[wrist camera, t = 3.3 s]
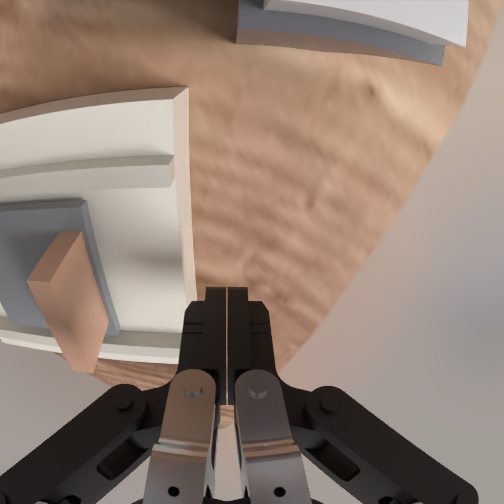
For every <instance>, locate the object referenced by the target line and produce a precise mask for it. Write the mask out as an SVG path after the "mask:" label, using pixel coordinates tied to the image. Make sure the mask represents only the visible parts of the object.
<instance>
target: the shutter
mask: <svg viewBox="0 0 504 504" xmlns="http://www.w3.org/2000/svg"><path fill="white" fill-rule="evenodd" d="M0 303H1V305H2V307H3V308H4V310H5V312H6V314H7V316H8V318H9V319H10V321H11V323H14V324H21V325H27V326H34V327H42V328H49V329H50V331H51V333H52V334H53V336H54V338H55V340H56V342H57V344H58V345H59V347H60V349H61V351H62V353H63V354H64V356H65V358H66V360H67V361H68V363H69V364H70V366H71V368H72V369H73V370H74V371H80V372H87V373H93V372H94V369H95V365H96V362H97V359H98V355H99V352H100V349H101V345H102V342H103V339H104V336H105V334H106V335H118V334H119V330H120V327H121V326H120V323H119V320H118V317H117V314H116V311H115V308H114V305H113V302H112V298H111V295H110V292H109V288H108V285H107V282H106V278H105V275H104V271H103V267H102V264H101V260H100V256H99V252H98V248H97V244H96V240H95V236H94V231H93V227H92V223H91V218H90V213H89V208H88V204H87V200H75V201H56V202H39V203H25V204H12V205H0Z"/></svg>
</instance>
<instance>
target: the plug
mask: <svg viewBox="0 0 504 504" xmlns="http://www.w3.org/2000/svg"><path fill="white" fill-rule="evenodd" d="M467 21H468V0H238V11H237V29H236V44H248V45H266V46H280V47H291V48H300V49H308V50H316V51H323V52H337V53H351V54H363V55H373V56H381V57H389V58H396V59H403V60H409V61H415V62H421V63H426V64H432V65H437V66H441V67H442V64H443V56H444V47H445V45H449V46H457V47H464V48H465V45H466V34H467Z"/></svg>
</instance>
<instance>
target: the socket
mask: <svg viewBox="0 0 504 504" xmlns="http://www.w3.org/2000/svg"><path fill="white" fill-rule="evenodd" d="M75 200H87V204H88V208H89V213H90V218H91V223H92V227H93V231H94V236H95V240H96V244H97V248H98V252H99V256H100V260H101V264H102V267H103V271H104V275H105V278H106V282H107V285H108V288H109V292H110V295H111V298H112V302H113V305H114V308H115V311H116V314H117V317H118V320H119V323H120V326H121V327H120V330H119V334H118V335H106V334H105V336H104V339H103V342H102V345H101V349H100V352H99V355H98V358H106V359H116V360H127V361H139V362H152V363H169V364H178V361H179V352H180V344H181V336H182V328H183V321H184V313H185V310H186V308H187V307H188V306H189V304H190V303H191V301H197V292H196V279H195V265H194V250H193V234H192V215H191V193H190V163H189V87H166V88H150V89H138V90H127V91H118V92H109V93H101V94H94V95H87V96H81V97H75V98H69V99H63V100H58V101H53V102H48V103H43V104H39V105H34V106H30V107H25V108H21V109H17V110H13V111H10V112H6V113H2V114H0V205H12V204H25V203H39V202H56V201H75ZM0 339H1V340H2V342H3V343H8V344H13V345H19V346H23V347H29V348H35V349H40V350H46V351H53V352H59V353H62V351H61V349H60V347H59V345H58V344H57V342H56V340H55V338H54V336H53V334H52V333H51V331H50V329H49V328H42V327H34V326H27V325H21V324H14V323H11V321H10V319H9V318H8V316H7V314H6V312H5V310H4V308H3V307H2V305H1V303H0Z"/></svg>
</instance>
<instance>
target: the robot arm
mask: <svg viewBox="0 0 504 504" xmlns="http://www.w3.org/2000/svg"><path fill="white" fill-rule="evenodd" d="M227 351H228V405H234V427H235V435H236V444H237V453H238V461H239V468H240V480H241V489H242V497H243V498H241V499H237V500H233V501H222V500H218V499H214V490H215V465H216V453H217V441H218V430H219V423H220V405H226V287H206V295H205V301H191V303H190V304H189V306H188V307H187V308H186V310H185V313H184V321H183V328H182V336H181V344H180V352H179V361H178V369H177V372H176V374H175V376H174V377H173V379H172V380H171V381H170V382H168V383H167V384H165V385H163V386H161V387H158V388H154V389H149V390H145V391H141V390H140V389H139V388H137V387H136V386H134V385H131V384H119V385H116V386H114V387H112V388H110V389H109V390H108V391H107V392H106V393H104V394H103V395H102V396H100V397H99V398H98V399H97V400H95V401H94V402H93V403H92V404H91V405H89V406H88V407H87V408H86V409H84V410H83V411H82V412H81V413H79V414H78V415H77V416H76V417H74V418H73V419H72V420H71V421H70V422H68V423H67V424H66V425H64V426H63V427H62V428H61V429H59V430H58V431H57V432H56V433H55V434H53V435H52V436H51V437H49V438H48V439H47V440H46V441H44V442H43V443H42V444H41V445H39V446H38V447H37V448H36V449H34V450H33V451H32V452H30V453H29V454H28V455H27V456H25V457H24V458H23V459H21V460H20V461H19V462H18V463H16V464H15V465H14V466H13V467H11V468H10V469H9V470H7V471H6V472H5V473H4V474H2V475H1V476H0V504H96V503H97V502H98V501H99V500H100V499H102V498H103V497H104V496H105V495H106V494H107V493H109V492H110V491H111V490H112V489H113V488H114V487H116V486H117V485H118V484H119V483H120V482H121V481H122V480H123V479H125V478H126V477H127V476H128V475H129V474H130V473H131V472H133V471H134V470H135V469H136V468H137V467H138V466H139V465H140V464H141V463H142V462H143V461H145V460H146V459H147V458H148V457H149V456H150V455H151V457H150V462H149V468H148V473H147V480H146V486H145V492H144V497H143V499H140V500H138V501H136V502H134V503H132V504H323V503H321V502H319V501H317V500H314V499H311V497H310V492H309V488H308V483H307V479H306V475H305V470H304V465H303V461H302V457H301V453H302V454H303V455H304V456H305V457H307V458H308V459H309V460H310V461H311V462H312V463H313V464H315V465H316V466H317V467H318V468H319V469H320V470H322V471H323V472H324V473H325V474H326V475H328V476H329V477H330V478H331V479H333V480H334V481H335V482H336V483H337V484H339V485H340V486H341V487H342V488H344V489H345V490H346V491H347V492H349V493H350V494H351V495H353V496H354V497H355V498H356V499H358V500H359V501H360V502H362V503H363V504H478V501H479V500H478V494H477V491H476V489H475V488H474V487H473V486H472V485H471V484H469V483H468V482H466V481H465V480H463V479H462V478H460V477H459V476H457V475H456V474H455V473H453V472H451V471H450V470H449V469H447V468H446V467H444V466H443V465H441V464H440V463H439V462H437V461H436V460H435V459H433V458H432V457H430V456H429V455H427V454H426V453H425V452H423V451H422V450H421V449H419V448H418V447H416V446H415V445H413V444H412V443H411V442H410V441H408V440H407V439H405V438H404V437H403V436H401V435H400V434H399V433H397V432H396V431H395V430H393V429H392V428H391V427H389V426H388V425H387V424H385V423H384V422H383V421H381V420H380V419H379V418H377V417H376V416H375V415H374V414H372V413H371V412H369V411H368V410H367V409H366V408H364V407H363V406H362V405H361V404H359V403H358V402H357V401H355V400H354V399H353V398H352V397H350V396H349V395H348V394H346V393H345V392H344V391H342V390H341V389H339V388H336V387H333V386H322V387H319V388H317V389H315V390H314V391H312V392H310V391H305V390H301V389H297V388H294V387H291V386H289V385H287V384H286V383H284V382H283V381H282V380H281V379H280V377H279V376H278V374H277V372H276V368H275V359H274V351H273V343H272V335H271V326H270V318H269V311H268V310H267V308H266V307H265V305H264V304H263V302H262V301H248V289H247V287H228V328H227ZM300 452H301V453H300Z"/></svg>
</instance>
